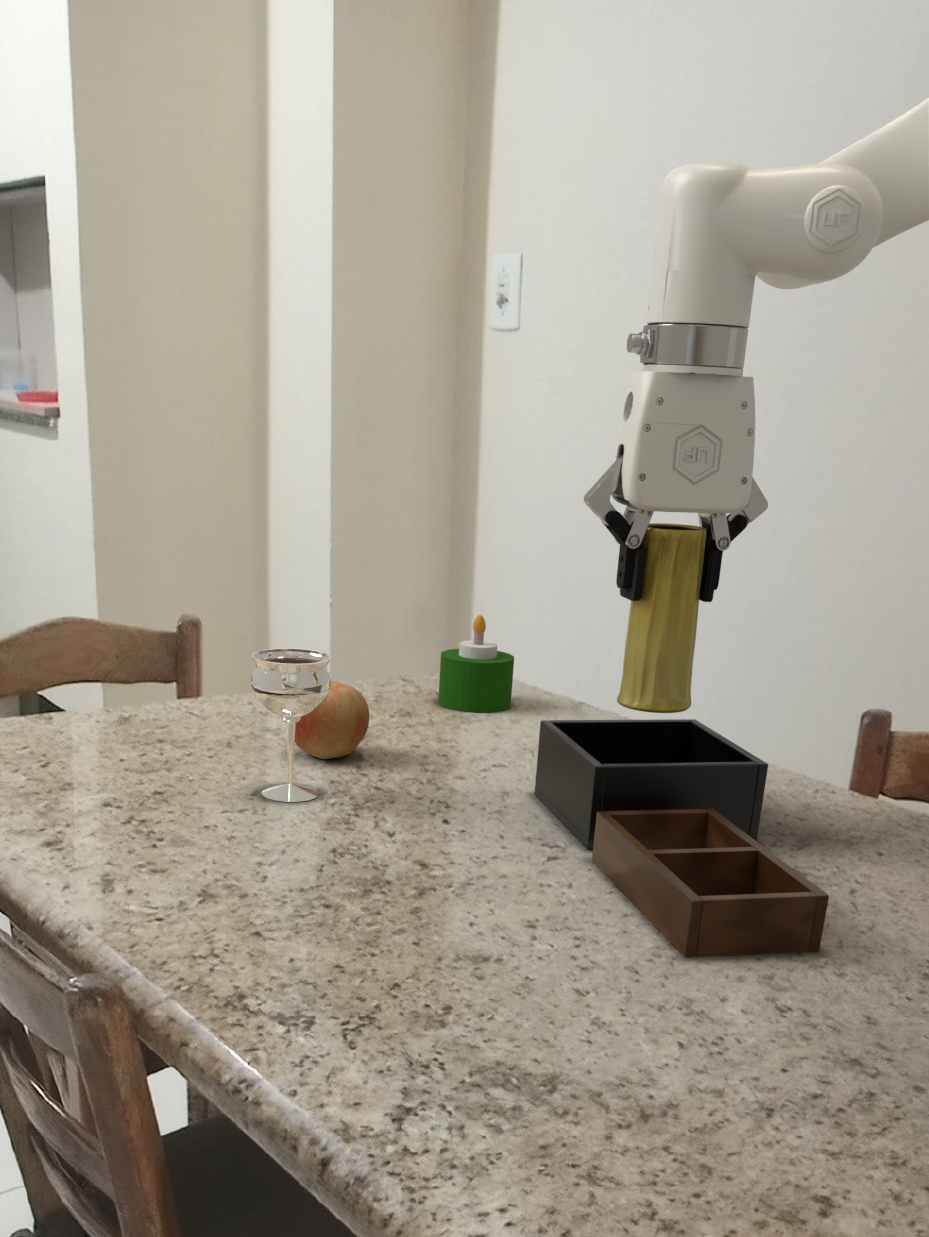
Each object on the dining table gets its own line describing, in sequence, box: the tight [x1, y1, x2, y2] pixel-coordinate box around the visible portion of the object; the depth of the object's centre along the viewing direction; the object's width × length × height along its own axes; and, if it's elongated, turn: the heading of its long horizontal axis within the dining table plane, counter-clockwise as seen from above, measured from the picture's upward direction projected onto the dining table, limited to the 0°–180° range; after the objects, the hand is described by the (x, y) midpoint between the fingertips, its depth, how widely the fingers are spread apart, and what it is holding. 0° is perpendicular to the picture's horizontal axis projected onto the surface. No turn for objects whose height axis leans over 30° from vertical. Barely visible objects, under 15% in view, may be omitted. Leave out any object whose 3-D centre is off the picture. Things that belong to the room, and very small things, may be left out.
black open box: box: [534, 718, 769, 850], centre depth 110 cm, size 15×15×7 cm
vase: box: [616, 522, 707, 714], centre depth 105 cm, size 6×6×14 cm
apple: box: [295, 681, 370, 760], centre depth 124 cm, size 8×8×8 cm
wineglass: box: [250, 647, 332, 803], centre depth 111 cm, size 7×7×12 cm
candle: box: [437, 614, 515, 713], centre depth 146 cm, size 8×8×10 cm
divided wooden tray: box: [591, 809, 830, 958], centre depth 93 cm, size 10×18×4 cm, turn 12°
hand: (665, 596), depth 104 cm, fingers closed on vase, 5 cm apart
